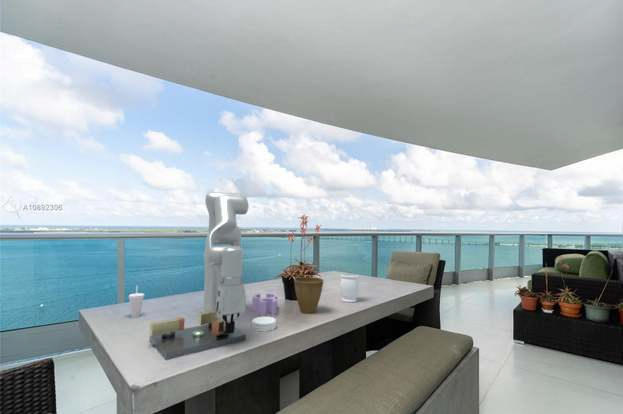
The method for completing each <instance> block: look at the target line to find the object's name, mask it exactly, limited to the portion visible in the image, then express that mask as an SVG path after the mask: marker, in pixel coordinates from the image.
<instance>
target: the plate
mask: <svg viewBox="0 0 623 414" xmlns="http://www.w3.org/2000/svg"><path fill="white" fill-rule="evenodd" d="M246 340H247V334H245V333H244V332H242V331H241V330H239V329H237V328H235V329H234V333H231V334H228V335H226V336H217V335H213V334H212V327H210V326H208V324H204V325H196V326H192V327H186V328H184V330H181V331H176V332H175V336H174V337H170V338H163V337H162V335H158V336H153V337H152V336H151V335H150V334H149V342H150V343H151V345H152V346H153V348H155V349H156V350H157V352H159V354H160V355H161V357H163V358H164V359H165V360H171V359H174V358H178V357H181V356H182V357H183V356H186V355H187V356H188V355H191V354H195V353H199V352H203V351H207V350H210V349H211V350H212V349H215V348H219V347H223V346H226V345H230V344H234V343H235V344H236V343H239V342H242V341H243V342H244V341H246Z"/></svg>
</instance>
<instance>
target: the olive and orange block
mask: <svg viewBox="0 0 623 414" xmlns="http://www.w3.org/2000/svg"><path fill="white" fill-rule="evenodd" d="M185 319H186V318H184V317H182V316H181V317H180V316H179V317H175V318H169V319H165V320H159V321H154V322H150V323H149V336H150V335H151V336H152V337H153V336H158V335H162V337H163V338H170V337H174V336H175V332H176V331H181V330H184V329H185V321H186V320H185Z"/></svg>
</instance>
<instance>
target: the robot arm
mask: <svg viewBox="0 0 623 414" xmlns="http://www.w3.org/2000/svg"><path fill="white" fill-rule="evenodd" d="M205 208H206V209H207V213H208V232H207V233H208V234H207V236H206V239H205V244H204V245H205V247H204V248H205V249H204V252H203V261H204V262H203V263H204V287H203V288H204V289H203V306H202V307H200V309H199V311H200V312H199V313H201V312H207V311H213V310H216V312H217V314H216V318H220V319H223V320H224V321H225V331H226V332H227V333H229V334H231V333H234V329H236V328H235V327H236V321H237V319H238V318H239V317H240V316H242V315H243V314H245V311H246V308H247V300H246V299H247V298H246V297H247V296H246V290H245V289H246V288H245V284H243V260H244V256H245V255H244V250H243V249H242V247H241V245H242V231H241V228H240V226H238V225H237V224H238V223H237V216H236V215H241V216H242V215H246V214H247V213H248V210H249V202H248V199H247V196H245V195H244V194H242V193H236V192H234V193H233V192H224V191H223V192H220V191H212V192H208V193H207V194H206V195H205Z"/></svg>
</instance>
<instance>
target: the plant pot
mask: <svg viewBox="0 0 623 414" xmlns="http://www.w3.org/2000/svg"><path fill="white" fill-rule="evenodd" d="M293 282H294V289H295V296H296V300H297V304H298V307H299V310H300V312H301V313H303V314H313V313H315V312H316V311H317V308H318V306H319V302H320V298H321V296H322V291H323V286H324V279H323V278H320V277H312V276H299V277H298V276H297V277H295V278H294V279H293Z"/></svg>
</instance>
